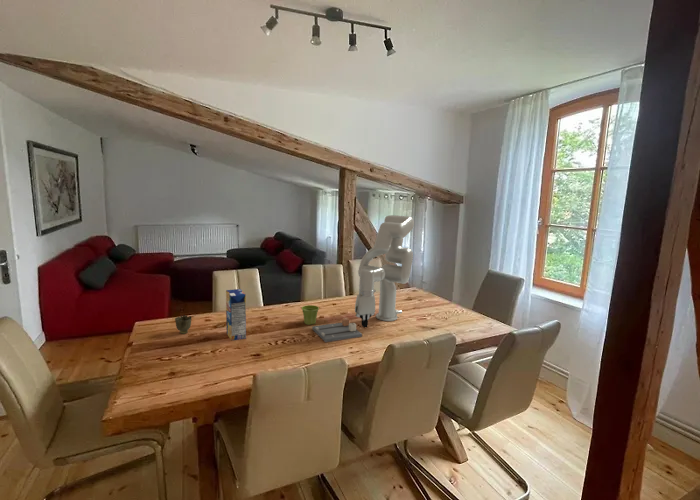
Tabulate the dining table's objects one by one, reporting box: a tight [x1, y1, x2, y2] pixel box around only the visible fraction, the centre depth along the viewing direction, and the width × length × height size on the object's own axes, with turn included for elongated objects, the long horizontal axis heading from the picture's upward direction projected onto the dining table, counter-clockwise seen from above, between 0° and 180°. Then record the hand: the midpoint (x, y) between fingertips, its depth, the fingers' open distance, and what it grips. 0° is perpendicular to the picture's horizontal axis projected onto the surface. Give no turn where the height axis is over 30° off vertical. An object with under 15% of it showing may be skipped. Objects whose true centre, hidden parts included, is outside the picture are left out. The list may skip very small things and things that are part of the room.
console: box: [311, 322, 363, 343], centre depth 191 cm, size 20×18×2 cm
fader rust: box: [341, 317, 350, 326], centre depth 197 cm, size 3×2×4 cm
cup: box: [174, 314, 192, 335], centre depth 182 cm, size 8×7×8 cm
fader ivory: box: [349, 322, 357, 331], centre depth 190 cm, size 3×2×4 cm
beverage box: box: [225, 288, 247, 341], centre depth 181 cm, size 7×11×22 cm, turn 30°
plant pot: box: [301, 304, 320, 326], centre depth 203 cm, size 9×9×9 cm
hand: (364, 326), depth 193 cm, fingers closed
